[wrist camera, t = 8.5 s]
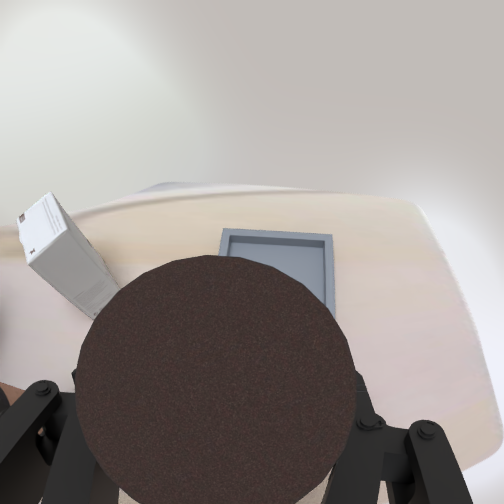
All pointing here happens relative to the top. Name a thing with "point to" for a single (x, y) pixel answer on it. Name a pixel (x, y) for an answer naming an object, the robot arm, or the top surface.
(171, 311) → the deodorant
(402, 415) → the top surface
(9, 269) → the top surface
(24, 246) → the skincare box
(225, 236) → the slate tray
